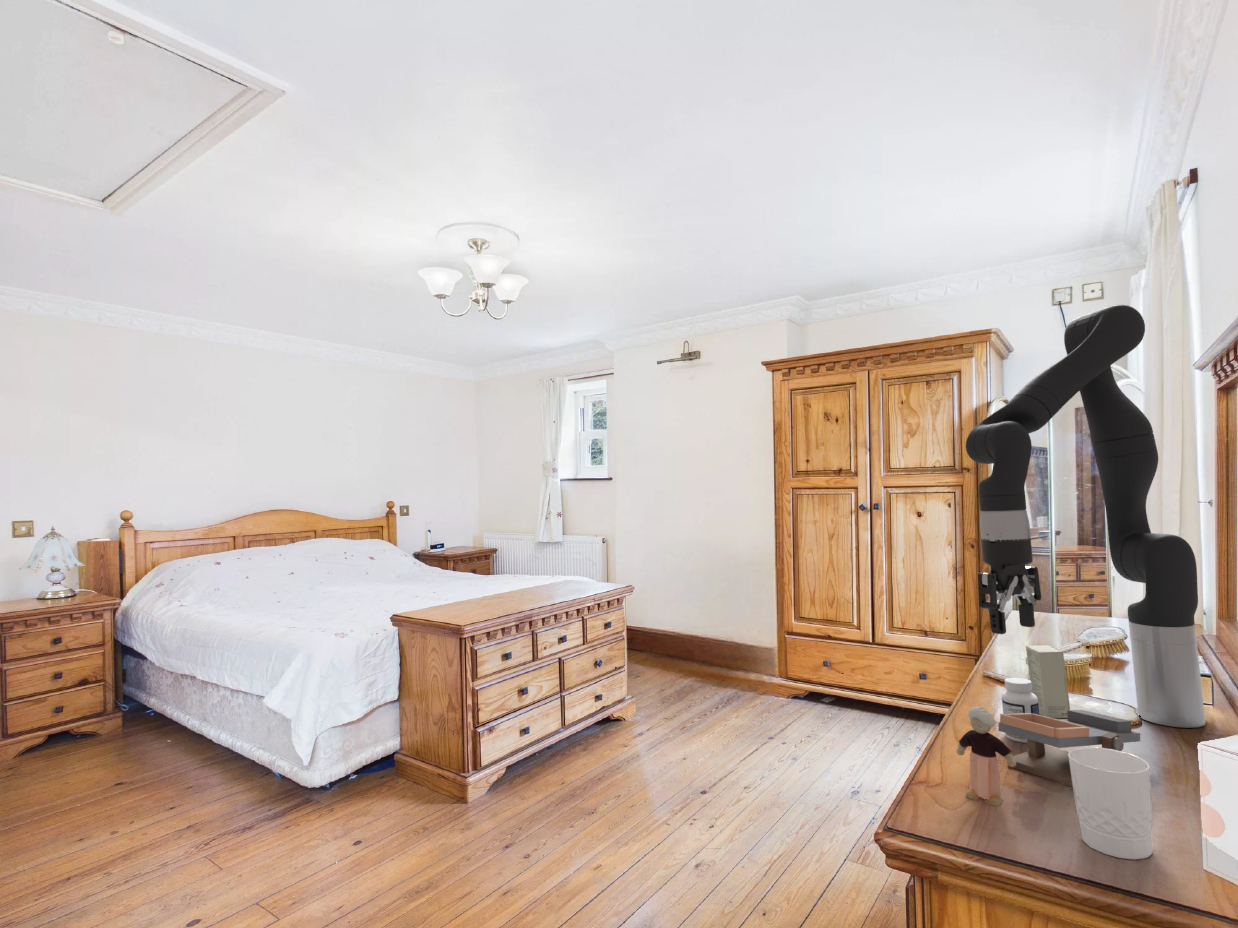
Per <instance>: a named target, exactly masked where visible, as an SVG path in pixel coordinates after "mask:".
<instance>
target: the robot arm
mask: <svg viewBox="0 0 1238 928" xmlns="http://www.w3.org/2000/svg"><path fill="white" fill-rule="evenodd" d="M1145 331H1146V323H1145V319H1144V318H1143V315H1142V314H1141V313H1140V312H1139V311H1138V309H1136V308H1134V307H1133V306H1130V305H1128V304H1127V305H1126V304H1115V305H1109V306H1105V307H1102V308H1100V309H1097V310H1094V311H1091V312H1089V313H1086V314H1082V315H1080V316H1078V317H1076V318H1073V319H1072V320H1071V321H1070V322H1069V323H1067V325H1066V327H1065V329H1064V335H1063V340H1064V341H1063V342H1064V349H1065V352H1066V355H1065V356H1064V357H1063V358H1062V359H1060V360H1058V361H1057V362H1055V363H1054V364H1051V365H1050V366H1049V367H1047V368H1046V369H1045V370H1043V371H1041V372H1040V373H1039V374H1038V375H1036V376H1035V377H1033V378H1032V379H1031V380H1029V381H1028V382H1027V383H1026V384H1025V385H1024V386H1023V387H1022V388H1021V389H1020V390H1019V391H1018V392H1016V394H1014V396H1013V397H1012V398H1011V399H1010V400H1009V401H1008V403H1006V404H1005V405H1004V406H1002V407H1001V408H999V409H997V410H996V411H995V412H993V413H991V414H990V415H989V416H987V417H986V418H984V419H983V420H982V421H980V422H978V423H977V424H976V425H975V426H974V428H972V430H971V431H970V432H969V434H968V435H967V437H966V441H965V451H966V454H967V455H968V457H969V458H970V459H971V460H972V461H974V462H976V463H978V464H982V465H983V464H984V465H992V464H993V466H992V469H991V470H992V471H991V474H990V476H987V477H985V478H984V479H982V480H981V481H980V482H979V484H978V500H979V509H980V510H979V512H980V517H979V532H980V543H981V553H982V561H983V563H984V564H986V565H989V566H990V570H989V572H979V573H978V574H977V587H978V606H979V608H980V609H986V610H987V611H988V613H989V621H990V624H989V626H990V630H991V631H990V632H991V633H992V634H996V635H1004V634H1006V633H1007V625H1006V612H1005V607H1006V604H1007V602H1009V601H1010V600H1011V598H1012V596H1014V597H1015V599H1016V601H1017V603H1018V614H1019V615H1018V616H1019V624H1020V626H1021V627H1026V628H1034V627H1035V626H1036V621H1035V620H1036V619H1035V610H1034V609H1035V608H1034V606H1035V605H1036V604H1037V601H1041V600H1042V593H1041V592H1042V591H1041V582H1040V576H1039V569H1038V567H1037V566H1027V565H1030V564H1032V563H1033V548H1032V536H1031V527H1030V526H1031V525H1030V521H1029V517H1028V510H1027V502H1026V501H1027V500H1026V492H1025V490H1026V489H1025V484H1026V481H1027V477H1028V473H1029V472H1028V470H1029V468H1030V467H1029V465H1030V462H1031V457H1032V451H1033V450H1032V440H1031V436H1030V434H1032V433H1035V432H1037V431H1039V430H1041V428H1043V427H1044V426H1045V425H1046V424H1047V423H1048V422H1050V421H1051V419H1053V418H1054V416H1056V414H1058V412H1059V411H1060V410H1061V409H1062V408H1063V407H1064V406H1065V405H1066V404H1067V403H1068V402H1069V401H1070V400H1071V399H1072V398H1073V397H1074V396H1075V395H1076V394H1078V392H1079V393H1080V398H1081V401H1082V405H1083V410H1084V412H1085V416H1086V417H1085V418H1086V421H1087V425H1088V430H1089V435H1090V437H1089V438H1090V441H1091V445H1092V451H1093V455H1094V459H1095V463H1096V466H1097V470H1098V474H1099V475H1098V476H1099V481H1100V485H1101V491H1102V496H1103V501H1104V502H1103V503H1104V506H1105V515H1106V522H1107V523H1106V525H1107V534H1108V537H1107V538H1108V544H1109V545H1108V546H1109V547H1108V548H1109V552H1110V553H1109V554H1110V559H1111V563H1112V565H1113V568H1114V569H1115V571H1116V572H1117V573H1118V575H1120V576H1121V577H1122V578H1124V579H1126V580H1128V581H1131V582H1136V583H1142V584H1145V595H1144V597H1143V599H1142V600H1141V601H1136V602H1134V603H1131V604H1129V605H1128V607H1127V618H1128V629H1129V637H1130V639H1129V640H1130V649H1131V657H1132V658H1131V659H1132V665H1133V667H1132V669H1133V676H1134V687H1135V695H1136V704H1137V705H1136V707H1137V714H1139V715H1140V716H1141V717H1140V718H1141V719H1142V720H1145V721H1146V722H1150V723H1152V724H1156V725H1163V726H1167V727H1173V728H1185V729H1186V728H1188V729H1189V728H1201V727H1204V726H1205V725H1206V716H1205V707H1204V697H1203V695H1204V694H1203V688H1202V687H1203V685H1202V680H1201V679H1202V677H1201V676H1202V675H1201V668H1200V661H1199V658H1200V657H1199V651H1198V642H1197V634H1196V632H1197V631H1196V626H1195V625H1196V624H1195V623H1196V622H1195V615H1196V612H1197V609H1198V606H1199V592H1198V591H1199V590H1198V569H1197V560H1196V556H1195V553H1194V551H1193V548H1192V546H1191V545H1190V544H1189V542H1188V541H1187V540H1185V539H1184V538H1183V537H1181V536H1179V535H1175V534H1167V533H1152V532H1151V529H1150V528H1151V527H1150V524H1149V519H1148V515H1147V500H1148V499H1147V498H1148V495H1149V492H1150V489H1151V487H1152V484H1153V481H1154V479H1155V476H1156V473H1157V469H1158V466H1159V452H1158V448H1157V443H1156V438H1155V435H1154V431H1153V426H1152V424H1151V422H1150V420H1149V418H1148V417H1147V416H1146V415H1145V413H1144V412H1142V410H1141V409H1140V408H1139V407H1138V406H1137V405H1136V404H1135V403H1134V402H1133V401H1132V400H1131V399H1130V398H1129V397H1127V396H1126V394H1125V393H1124V392H1123V391H1122V390H1121V388H1120V386H1119V385H1118V383H1117V381H1116V378H1115V376H1114V373H1113V370H1112V365H1113V364H1114V363H1116V362H1118V361H1119V360H1120V359H1122V358H1123V357H1125V356H1126V355H1128V354H1129V353H1131V352H1132V351H1133V350H1135V349H1136V348H1138V346H1139V345H1140V344H1141V342H1142V341H1143V339H1144V336H1145ZM987 596H988V598H987Z"/></svg>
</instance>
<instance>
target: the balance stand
mask: <svg viewBox="0 0 1238 928" xmlns="http://www.w3.org/2000/svg"><path fill="white" fill-rule="evenodd" d="M1037 715H1038V714H1037ZM1040 715H1041V714H1040ZM1041 716H1043V715H1041ZM1101 743H1102V745H1101V748H1107V749H1113V750H1118V751H1122V752H1123V749H1124V746H1125V745H1124V744H1125V743H1123V740H1122V739H1121V738H1119V735H1118V734H1114V733H1110V732H1109V733H1107V734H1104V735H1102V736H1101ZM1026 744H1027V750H1026V751H1024V752H1021V753H1019V754H1016V755H1014V756H1013V759H1014V761H1015V762H1016V766H1015V767H1012V769H1013V768H1014V769H1015V770H1019V771H1020V770H1021V771H1023V772H1026V773H1029V774H1032V775H1035V776H1039V777H1042V778H1044V779H1048V780H1051V781H1053V782H1056V783H1060V784H1062V785H1066V786H1069V787H1072V788H1073V785H1072V779H1071V772H1070V765H1069V758H1068V752H1069V751H1066V750H1063V749H1062V748H1057V747H1054V746H1050V745H1047V744H1043V743H1040V742H1036V741H1033V740H1029V739H1027V743H1026ZM1007 766H1008V767H1010V766H1009V765H1008V764H1007Z"/></svg>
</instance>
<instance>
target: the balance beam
mask: <svg viewBox="0 0 1238 928" xmlns="http://www.w3.org/2000/svg"><path fill="white" fill-rule="evenodd" d="M997 730H998V731H999V732H1000V733H1001V732H1002V733H1004V734H1005V733H1008V734H1012V735H1015V736H1019V737H1022V738H1026V739H1029V740H1033V741H1036V742H1040V743H1043V744H1044V745H1047V746H1050V747H1054V748H1057V749H1063V748H1064V749H1066V748H1075V747H1076V748H1079V747H1091V746H1102V743H1101V736H1102V735H1104V734H1107V733H1109V732H1110V733H1114V734H1118V735H1119V738H1121V739H1122V740H1123V743H1124V744H1126V743H1137V742H1141V732H1137V731H1132V721H1131V720H1127V719H1123V718H1119V717H1115V716H1111V715H1106V714H1102V713H1097V712H1094V711H1093V712H1092V711H1088V710H1086V709H1085V710H1083V709H1070V710H1067V718H1060V719H1058V718H1049V717H1045V716H1043V715H1042V716H1041V714H1040V715H1037V714H1032V713H1016V714H1003V713H1000V714H999V721H998V729H997Z"/></svg>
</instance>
